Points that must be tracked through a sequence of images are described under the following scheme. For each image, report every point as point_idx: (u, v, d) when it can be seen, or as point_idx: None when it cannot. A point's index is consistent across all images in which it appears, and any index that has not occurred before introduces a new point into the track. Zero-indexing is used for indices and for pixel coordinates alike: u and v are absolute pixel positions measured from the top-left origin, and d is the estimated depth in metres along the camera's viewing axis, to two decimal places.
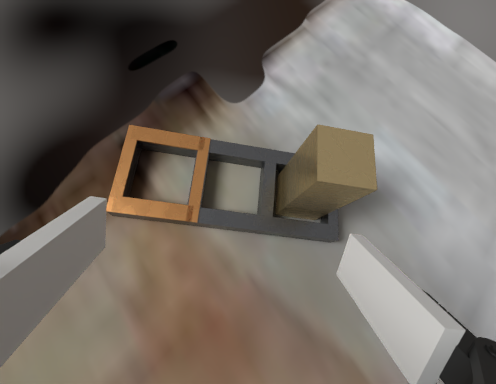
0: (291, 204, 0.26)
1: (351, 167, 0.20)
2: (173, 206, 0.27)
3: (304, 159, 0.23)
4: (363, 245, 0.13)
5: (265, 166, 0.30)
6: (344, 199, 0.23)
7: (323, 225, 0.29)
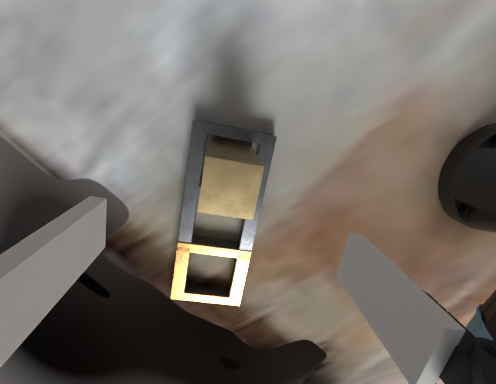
0: None
1: (241, 186, 0.22)
2: (238, 267, 0.36)
3: None
4: (363, 245, 0.13)
5: None
6: None
7: (261, 149, 0.31)
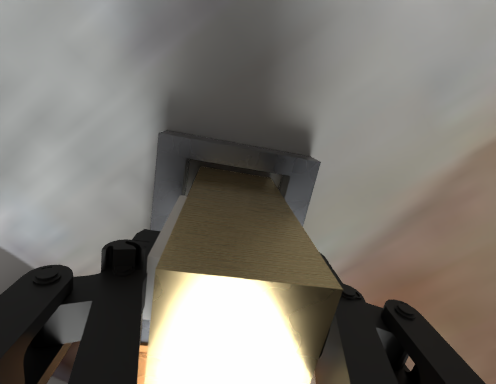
0: None
1: (269, 343, 0.07)
2: None
3: None
4: None
5: None
6: None
7: (291, 185, 0.17)
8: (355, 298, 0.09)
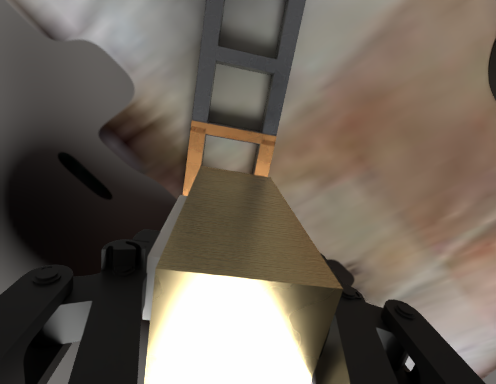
0: None
1: (269, 343, 0.07)
2: (260, 156, 0.31)
3: None
4: None
5: (221, 60, 0.28)
6: None
7: None
8: (355, 298, 0.09)
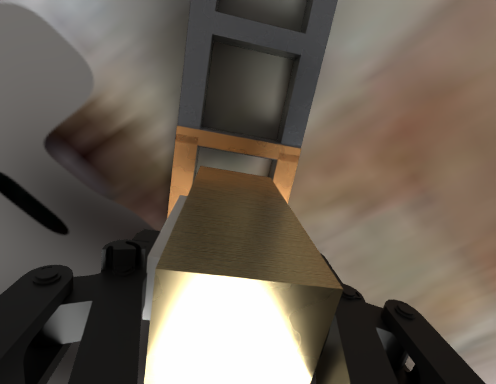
0: None
1: (269, 343, 0.07)
2: (278, 177, 0.22)
3: None
4: None
5: (221, 33, 0.18)
6: None
7: None
8: (355, 298, 0.09)
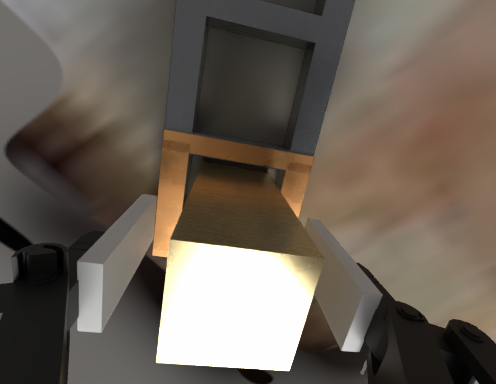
0: None
1: (263, 305, 0.09)
2: (286, 190, 0.18)
3: None
4: (316, 228, 0.14)
5: (218, 15, 0.15)
6: None
7: None
8: (417, 319, 0.08)
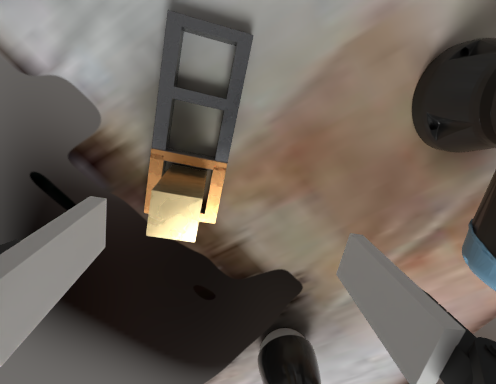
0: None
1: (183, 215, 0.26)
2: (213, 180, 0.35)
3: None
4: (363, 245, 0.13)
5: (177, 98, 0.32)
6: None
7: (238, 48, 0.31)
8: None
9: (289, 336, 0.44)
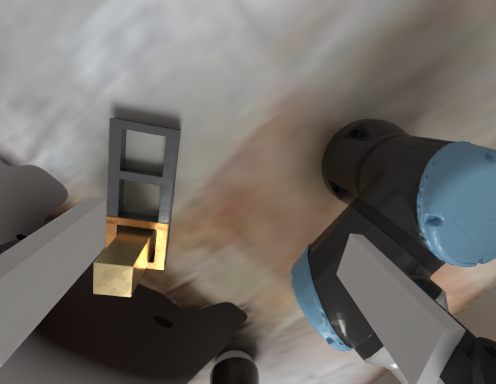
0: (145, 266, 0.43)
1: (119, 278, 0.35)
2: (158, 237, 0.44)
3: None
4: (364, 245, 0.13)
5: (123, 179, 0.41)
6: (139, 259, 0.38)
7: (167, 140, 0.40)
8: None
9: (234, 358, 0.52)
